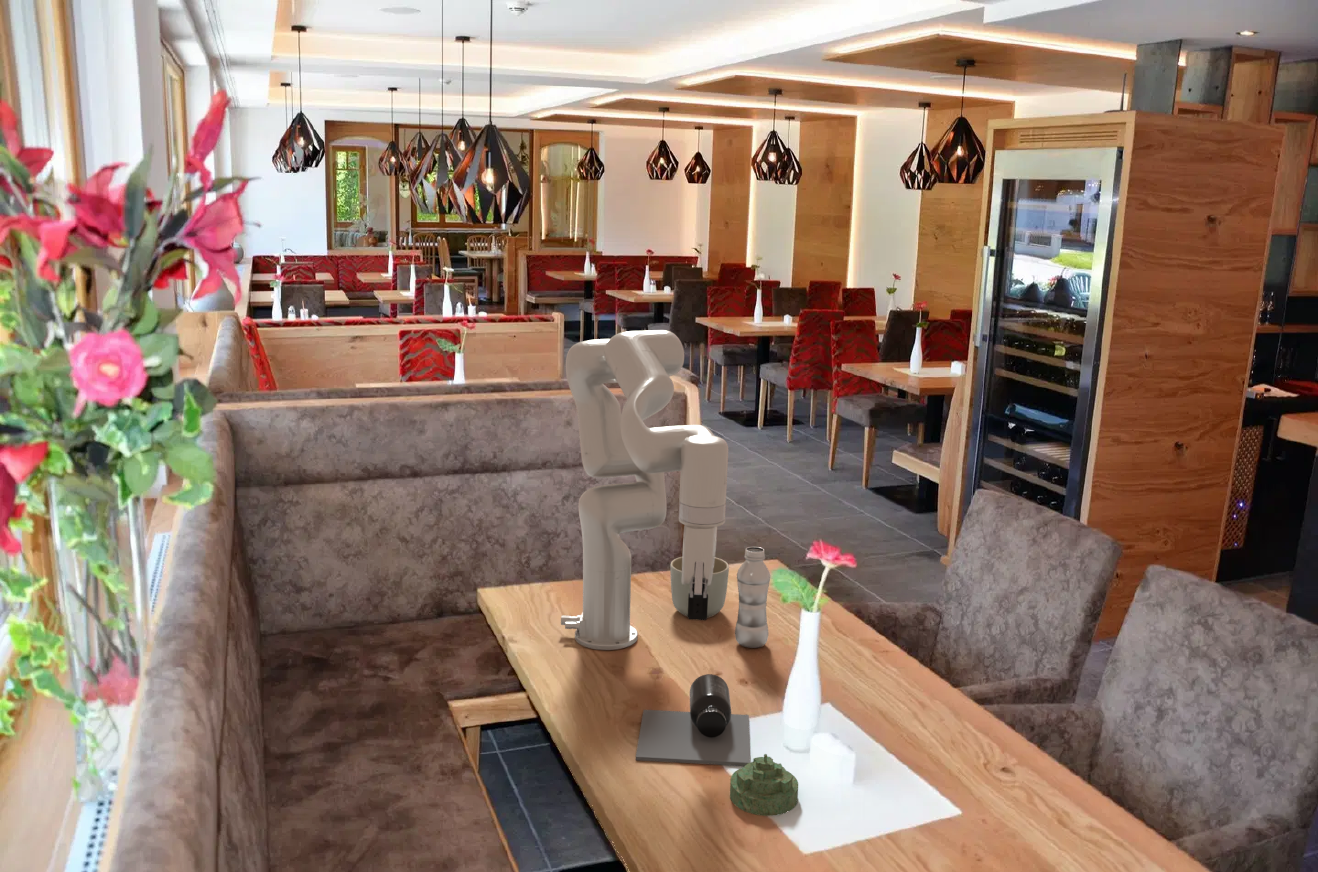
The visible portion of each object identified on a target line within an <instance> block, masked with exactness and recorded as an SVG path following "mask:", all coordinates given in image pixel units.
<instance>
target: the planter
mask: <svg viewBox="0 0 1318 872" xmlns="http://www.w3.org/2000/svg"><path fill="white" fill-rule="evenodd" d="M729 568H730V567H729V563H728V562H727V561H726V560H723V559H722V558H720V557H719V558H718V557H716V556H715V561H714V569H713V575H712V581H711V584H710V585H709V586H707V594H708V609H707V619H708V618H711V617H714V616H715V615H717V614H718V613H720V612H721V611H722V609H723V607H724V605H725V602H726V597H727V592H728V582H729V574H730V573H729V571H730V569H729ZM669 576H670V589H671V590H670V591H671V599H672V604H673V607H674V608H675V610H677V612H679V613H680V614H681V615H683V616H685V617H687V618H688V596H689V593H690V582H689V584H685V585H683V584H682V582H681V580H682V556H680V557H677V558H674V559H673V560H672V561H671V562H670V575H669ZM707 585H708V584H707ZM703 594H704V593H703Z"/></svg>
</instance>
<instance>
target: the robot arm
mask: <svg viewBox="0 0 1318 872" xmlns="http://www.w3.org/2000/svg"><path fill="white" fill-rule="evenodd" d="M684 362H685V350H684V346H683V344H682V341H681V340H680V338H679V337H678V336H677V335H676V334H675V333H674V332H672V331H670V330H666V329H653V330H629V331H623V332H618V333H617V334H614V335H613V336H612V337H611V338H600V339H599V338H597V339H589V340H584V341H579V342H576V343H575V344H573V345H572V346H571V347H570V348H569V350H568V351H567V354H566V358H565V376H566V380H567V381H566V382H567V384H568V387H569V390H570V392H571V395H572V399H573V400H574V404H575V407H576V412H577V421H578V423H577V424H578V433H579V434H578V435H579V436H578V437H579V444H580V455H581V463H582V466H583V470H584V472H585V474H586V475H587V476H589V477H591V478H595V479H608V478H620V477H630V476H634V478H635V481H636V482H635V481H633V482H628V483H627V482H625V483H613V484H611V483H610V484H605V485H603V484H602V485H596V486H594V487H590V488H588V489H586V490H585V491H584V492H583V493H582V494H581V496H580V497H579V500H578V504H577V505H578V515H579V521H580V522H579V523H580V527H581V528H580V529H581V535H582V537H581V538H582V612H581V614H577V615H576V616H571V615H563V614H562V615H561V617H560V625H561V626H564V629H565V630H575V631H574V639H575V641H576V643H577V644H579V645H580V646H582V647H585V648H588V649H592V650H598V651H615V650H620V649H624V648H628V647H630V646H632V645H633V644H635V643H636V642H637V641H638V634H639V633H638V630H637V629H636V628H635V627H634V626H633V625H631V599H632V597H631V595H632V593H631V592H632V591H631V588H632V585H631V584H632V582H631V581H632V554H631V553H632V552H631V550H630V549H629V547H628V545H627V544H626V543H625V542H624V540H622V538H621V536H620V535H621V534H623V533H628V532H635V531H645V530H651V529H652V530H653V529H655V528H658V527H660V526H661V525H662V524H663V523H664V522H665V521H666V517H667V509H668V508H667V494H666V493H667V492H666V483H665V482H666V481H665V473H672V472H673V473H674V472H680V476H679V496H678V497H679V499H678V500H679V502H678V522H679V523H680V524H682V525H684V526H683V540H682V556H681V557H682V580H681V582H682V584H683V585H685V584H689V582H690V593H689V596H688V617H687V619H688V620H691V621H707V619H708V618H707V609H708V594H707V586H709V585H710V584H711V581H712V575H713V569H714V561H715V557H716V551H717V550H716V549H717V534H718V533H717V532H718V527H721V526H722V525H724V524H725V523H726V507H727V503H726V502H727V487H728V486H727V485H728V482H727V481H728V466H729V445H728V443H727V441H726V440H725V439H723V438H721V437H720V436H716V435H715V434H714V433H713V432H712V430H711V429H710V428H709V427H707V426H705V425H703V424H702V425H701V424H687V425H686V424H684V425H669V426H668V425H667V426H658V427H657V426H656V427H649V426H647V425H646V424H645V422H644V421H645V420H647V419H649V418H650V417H651V416H654V415H655V414H657V413H658V412H660V411H662V410H663V409H664V408H665V407H666V406H667V405H668V404H669V403H670V402H671V400H672V398H673V397H674V393H675V386H674V383H673V381H672V378H671V377H672V376H674V375H676V374H678V373H679V372H680V371H681V370H682V368H683V366H684ZM606 384H618V386H619V388H620V389H621V391H622V393H623V394H624V397H625V398H626V401H625V403H624V405H623V407H622V410H621V404H620V402H619V400H618V399H617V397H616V396H615V394H614V393H613V391H611V389H610V388H608V387H607V386H606ZM707 584H708V585H707ZM703 593H704V594H703Z"/></svg>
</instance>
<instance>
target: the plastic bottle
mask: <svg viewBox="0 0 1318 872" xmlns="http://www.w3.org/2000/svg"><path fill="white" fill-rule="evenodd" d="M743 557H744V560H745V561H744V562H743V563H742V564H741V565H740V567H739V568H738V569H737V573H736V582H737V590H738V611H737V618H736V620H737V621H736V622H735V623H736V624H735V628H734V637H735V641H736V642H737V644H738V645H739V646H741V647H744V648H748V649H749V648H751V649H753V648H754V649H755V648H762V647H764V646H765V644H766V643H767V642H768V638H769V625H768V623H767V622H768V619H767V618H768V617H767V602H768V601H767V600H768V592H769V588H770V583H771V582H770V581H771V572H770V570H769V568H768V567H767V565H766V564H765V562H764V561H765V557H766V556H765V549H764V548H763V547H759V546H748V547H745V551H744V556H743Z"/></svg>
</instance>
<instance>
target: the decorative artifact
mask: <svg viewBox="0 0 1318 872" xmlns="http://www.w3.org/2000/svg"><path fill="white" fill-rule="evenodd" d="M752 760H753V761H750V763H748V764H747V765H745V766H741V768H740V767H739V768H738V769H736V770H735V771H734V772H733V773H732V775H731V776H730V783H729V784H730V787H729V798H730V801H731V802H732V804H734V806H735V807H737V808H738V809H740V810H741V811H744V812H746V813H748V814H751V815H757V816H763V817H764V816H766V817H768V816H769V817H772V816H780V815H783V813H784V814H786V812H787V811H789V812H790V811H792V810H793V809H794V808H795V807H796V806H797V804H798V799H799V797H798V796H799V782H798V781H799V780H798V779H797V777H796V776H795V775H793V773H791V772H790V771H788V770H787V769H786V768H785V767H784V766H783V765H782V763H777V762H774V759H773V758H772V757H771V756H769V755H768V754H767V753H764V754H763V756H757V757H754V758H753V759H752ZM787 813H788V812H787Z"/></svg>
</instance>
